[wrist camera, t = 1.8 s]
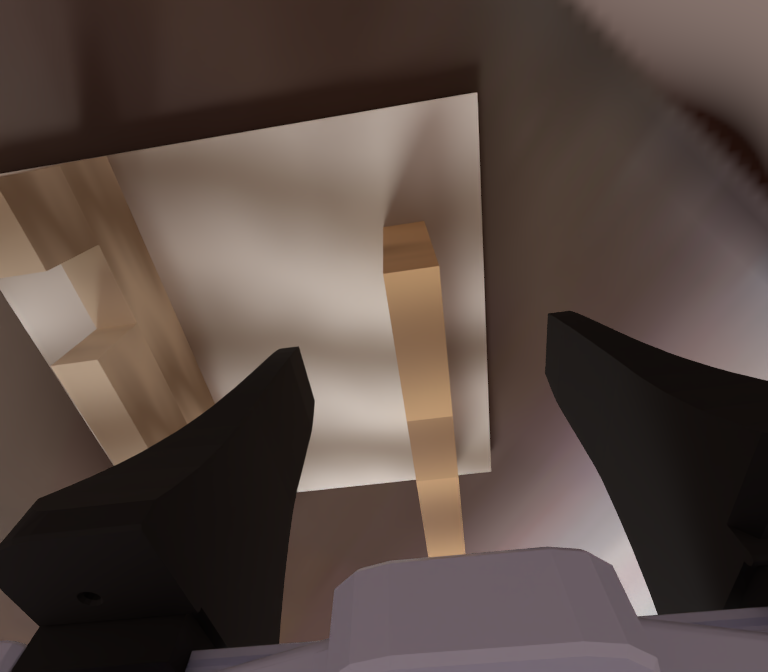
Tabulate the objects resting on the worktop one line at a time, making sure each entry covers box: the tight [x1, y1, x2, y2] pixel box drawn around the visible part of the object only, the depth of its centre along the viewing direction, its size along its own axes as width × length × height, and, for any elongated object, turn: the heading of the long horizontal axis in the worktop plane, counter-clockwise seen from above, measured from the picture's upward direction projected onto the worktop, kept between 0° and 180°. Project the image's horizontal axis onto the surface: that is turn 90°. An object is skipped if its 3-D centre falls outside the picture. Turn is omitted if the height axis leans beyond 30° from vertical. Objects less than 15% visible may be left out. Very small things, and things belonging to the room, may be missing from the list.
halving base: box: [0, 93, 491, 492], centre depth 17 cm, size 18×20×6 cm
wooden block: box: [383, 221, 465, 557], centre depth 17 cm, size 14×2×5 cm, turn 9°
